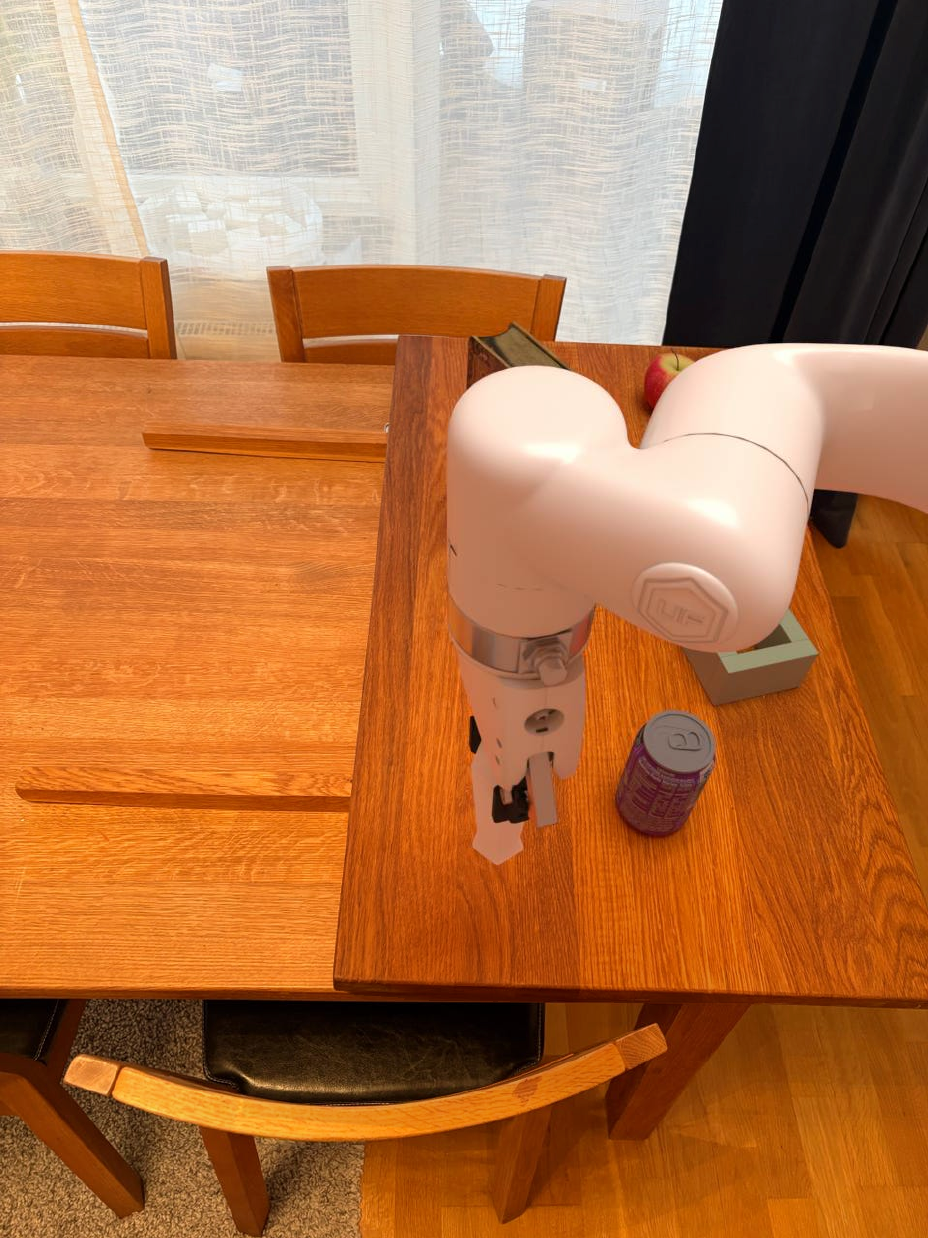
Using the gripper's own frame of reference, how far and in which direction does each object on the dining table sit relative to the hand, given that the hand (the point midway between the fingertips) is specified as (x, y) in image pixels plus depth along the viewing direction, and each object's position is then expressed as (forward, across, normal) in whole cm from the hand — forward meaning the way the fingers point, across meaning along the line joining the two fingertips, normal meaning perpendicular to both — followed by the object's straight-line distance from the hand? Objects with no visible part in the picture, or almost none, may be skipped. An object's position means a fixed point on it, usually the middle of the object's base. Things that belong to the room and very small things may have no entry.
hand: (503, 777), depth 58 cm
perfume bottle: (+10, 0, 0) cm, 10 cm away
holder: (+24, +20, -34) cm, 46 cm away
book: (+23, +43, -16) cm, 51 cm away
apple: (+24, +63, -45) cm, 81 cm away
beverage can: (+24, +6, -18) cm, 30 cm away
